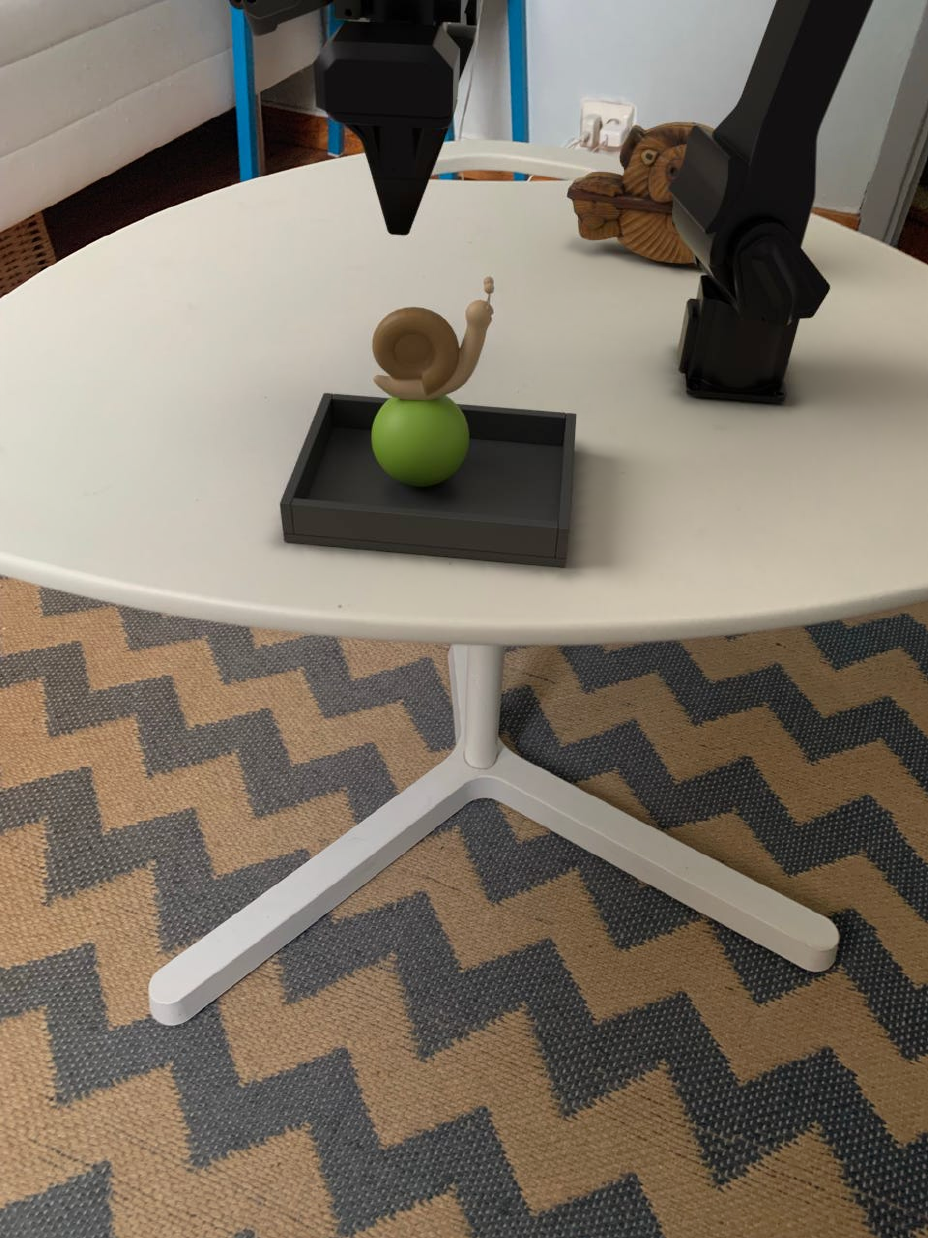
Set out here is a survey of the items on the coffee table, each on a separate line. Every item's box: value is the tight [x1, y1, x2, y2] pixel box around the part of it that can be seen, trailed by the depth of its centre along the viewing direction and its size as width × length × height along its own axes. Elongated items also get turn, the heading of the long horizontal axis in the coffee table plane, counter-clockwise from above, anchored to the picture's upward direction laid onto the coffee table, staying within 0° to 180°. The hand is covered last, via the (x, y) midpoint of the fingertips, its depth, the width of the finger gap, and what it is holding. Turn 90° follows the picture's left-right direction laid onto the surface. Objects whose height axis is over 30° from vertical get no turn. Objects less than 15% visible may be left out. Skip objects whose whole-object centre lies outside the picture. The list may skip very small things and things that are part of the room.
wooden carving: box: [566, 121, 716, 264], centre depth 81 cm, size 16×5×10 cm, turn 78°
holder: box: [279, 392, 577, 568], centre depth 59 cm, size 15×11×3 cm
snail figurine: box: [371, 276, 495, 487], centre depth 56 cm, size 5×6×12 cm
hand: (409, 199), depth 58 cm, fingers open, 9 cm apart
